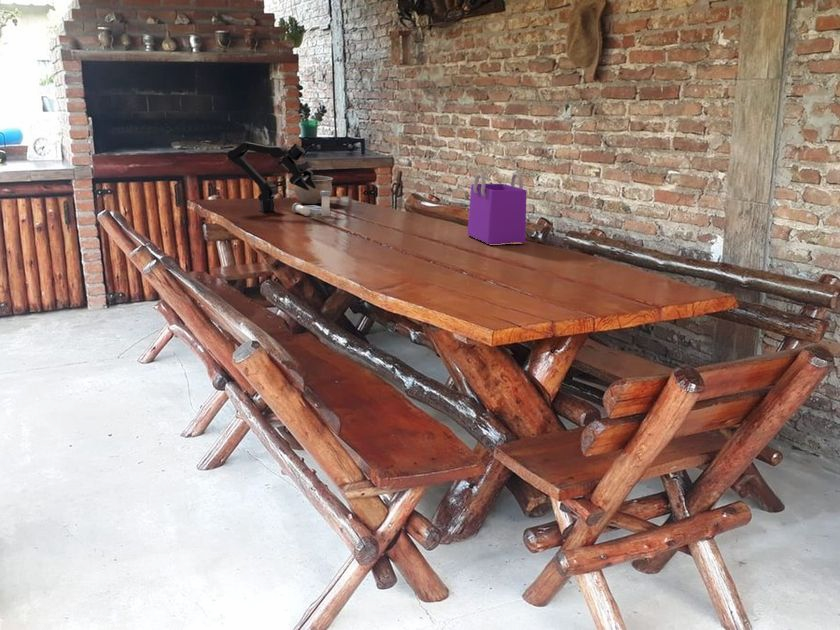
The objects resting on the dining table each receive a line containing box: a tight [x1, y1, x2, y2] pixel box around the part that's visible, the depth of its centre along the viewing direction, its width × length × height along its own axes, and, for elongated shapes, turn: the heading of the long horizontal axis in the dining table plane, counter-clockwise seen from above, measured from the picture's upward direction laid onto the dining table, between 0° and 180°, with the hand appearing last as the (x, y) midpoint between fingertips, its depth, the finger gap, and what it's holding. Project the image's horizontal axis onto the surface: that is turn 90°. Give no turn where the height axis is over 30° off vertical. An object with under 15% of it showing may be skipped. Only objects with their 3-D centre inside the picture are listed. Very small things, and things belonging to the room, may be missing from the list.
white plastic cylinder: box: [291, 202, 311, 217], centre depth 427 cm, size 12×5×5 cm
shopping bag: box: [467, 171, 527, 244], centre depth 362 cm, size 28×22×30 cm
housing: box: [303, 204, 331, 216], centre depth 436 cm, size 16×9×2 cm, turn 40°
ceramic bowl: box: [293, 174, 334, 205], centre depth 468 cm, size 22×22×15 cm
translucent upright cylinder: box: [320, 191, 332, 217], centre depth 424 cm, size 5×5×12 cm
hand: (312, 189), depth 424 cm, fingers open, 9 cm apart
